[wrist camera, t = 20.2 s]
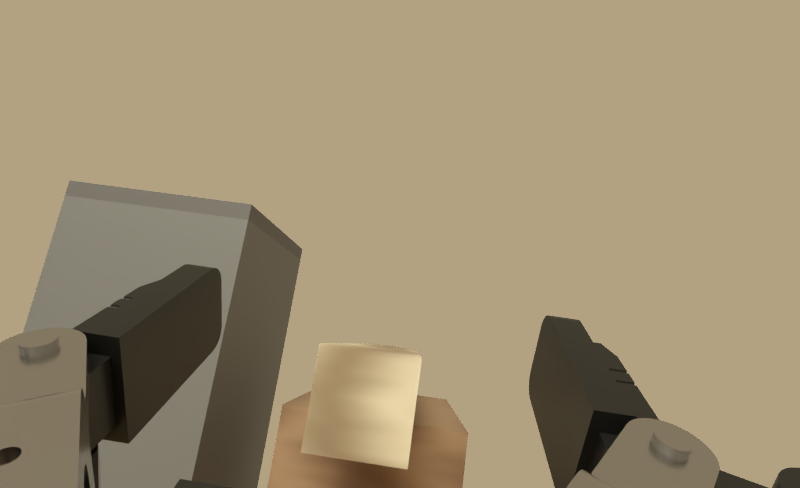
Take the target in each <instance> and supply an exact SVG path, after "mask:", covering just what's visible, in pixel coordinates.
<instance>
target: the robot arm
mask: <svg viewBox="0 0 800 488" xmlns="http://www.w3.org/2000/svg"><path fill="white" fill-rule="evenodd" d="M221 329H222V281H221V274H220V271H219V270H218V269H217V268H212V267H205V266H198V265H192V264H185V265H183V266H181V267H180V268H178V269H177V270H175V271H174V272H172V273H171V274H169V275H167V276H166V277H164V278H163V279H161V280H158V281H155V282H152V283H149V284H146V285H143V286H140V287H138V288H137V289H135V290H133V291H132V292H130V293H129V294H127V295H125V296H124V298H123V299H119V300H117V301H116V302H114V303H113V304H111V306H110V307H106V308H105V309H103V310H101V311H100V312H98V313H97V314H95V315H93V316H92V317H90V318H89V319H87V320H85V321H84V322H82V323H81V324H79V325H77V326H76V327H74V328H73V329H70V328H45V329H38V330H33V331H29V332H25V333H22V334H18V335H16V336H13V337H11V338H9V339H6V340H4V341H2V342H1V343H0V488H101V469H100V452H99V442H100V441H101V440H102V439H103V440H109V441H115V442H121V443H127V444H129V443H130V442H131V441H132V440H133V439H134V438H135V436H136V435H137V434H138V433H139V432H140V431H141V430H142V429H143V428H144V427H145V425H146V424H147V423H148V422H149V421H150V420H151V419H152V418H153V417H154V416H155V414H156V413H157V412H158V411H159V410H160V409H161V408H162V407H163V406H164V405H165V403H166V402H167V401H168V400H169V399H170V398H171V397H172V396H173V395H174V393H175V392H176V391H177V390H178V389H179V388H180V387H181V386H182V385H183V384H184V382H185V381H186V380H187V379H188V378H189V377H190V376H191V375H192V374H193V373H194V371H195V370H196V369H197V368H198V367H199V366H200V365H201V364H202V363H203V362H204V360H205V359H206V358H207V357H208V356H209V355H210V354H211V353H212V352H213V350H214V349H215V348H216V346H217V344H218V341H219V338H220V335H221ZM529 395H530V400H531V404H532V407H533V411H534V414H535V418H536V421H537V425H538V429H539V432H540V436H541V439H542V443H543V447H544V449H545V453H546V457H547V461H548V464H549V468H550V472H551V475H552V479H553V482H554V486H555V488H767V487H764V486H762V485H759V484H756V483H754V482H751V481H748V480H745V479H742V478H740V477H737V476H734V475H731V474H728V473H726V472H723V471H721V470H719V469H720V467H719V463H718V461H717V458H716V457H715V455H714V454H713V452H712V451H711V450H710V449H709V448H708V447H707V446H706V445H705V444H704V443H703V442H702V441H700V440H699V439H697V438H696V437H695V436H693V435H692V434H690V433H689V432H687V431H685V430H683V429H681V428H679V427H677V426H675V425H673V424H670V423H667V422H664V421H660V420H659V419H658V418H657V416H656V415H655V413H654V412H653V410H652V409H651V407H650V406H649V404H648V403H647V401H646V400H645V398H644V397H643V395H642V393H641V392H640V391H639V389H638V387H637V386H634V381H633V380H632V378H631V377H630V375H629V374H627V371H626V369H625V368H624V366H623V365H622V363H621V362H620V360H619V359H618V357H617V356H616V355H614V354H613V353H612V352H610V351H609V350H608V349H607V348H605V347H604V346H603V345H602V344H599V343H593V342H592V340H591V338H590V337H589V335H588V333H587V332H586V330H585V328H584V327H583V325H582V323H581V322H580V321H579V320H574V319H568V318H561V317H554V316H546V317H545V318H544V320H543V323H542V326H541V330H540V334H539V339H538V343H537V347H536V351H535V356H534V360H533V364H532V368H531V373H530V380H529ZM174 488H231V487H225V486H219V485H213V484H208V483H202V482H196V481H190V480H184V479H180V480H179V481H178V482H177V484H176V485H175V487H174ZM772 488H800V468H786V469H784V470H782V471H781V472H780V473H779V474H778V476H777V478H776V480H775V483H774V485H773V487H772Z"/></svg>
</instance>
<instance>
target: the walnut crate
mask: <svg viewBox="0 0 800 488" xmlns="http://www.w3.org/2000/svg"><path fill="white" fill-rule="evenodd" d="M310 396H311V391H310V392H308V393H306V394H303V395H302V396H299V397H297V398H295V399H293V400H291V401H289V402H287V403H285V404H283V406H282V411H281V416H280V422H279V428H278V433H277V438H276V444H275V450H274V454H273V460H272V465H271V471H270V476H269V482H268V487H267V488H462V485H463V475H464V466H465V456H466V447H467V437H468V432H467V431H466V429H465V428H464V426H463V424H462V423H461V421H460V420H459V418H458V417H457V415H456V414H455V412H454V411H453V409H452V408H451V406H450V405H449V403H448V402H447V400H445V399H438V398H431V397H424V396H418V395H417V400H416V408H415V416H414V424H413V431H412V439H411V447H410V455H409V463H408V470H407V469H401V468H394V467H388V466H382V465H376V464H369V463H363V462H357V461H350V460H344V459H338V458H331V457H325V456H319V455H312V454H306V453H301V448H302V442H303V436H304V430H305V425H306V419H307V413H308V407H309V402H310Z"/></svg>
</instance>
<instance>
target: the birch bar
mask: <svg viewBox="0 0 800 488" xmlns="http://www.w3.org/2000/svg"><path fill="white" fill-rule="evenodd" d="M421 361H422V358H421V357H420V355H419V354H418V353H417V352H416V351H415V350H413V349H407V348H399V347H393V346H385V345H379V344H351V343H349V344H348V343H347V344H345V343H338V344H337V343H321V344H319V350H318V356H317V362H316V367H315V373H314V379H313V384H312V390H311V396H310V402H309V407H308V413H307V419H306V425H305V430H304V436H303V442H302V448H301V453H306V454H312V455H319V456H325V457H331V458H338V459H344V460H350V461H357V462H363V463H369V464H376V465H382V466H388V467H394V468H401V469H407V470H408V463H409V455H410V447H411V439H412V431H413V424H414V416H415V408H416V400H417V392H418V384H419V377H420V369H421Z"/></svg>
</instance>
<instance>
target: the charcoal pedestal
mask: <svg viewBox="0 0 800 488" xmlns="http://www.w3.org/2000/svg"><path fill="white" fill-rule="evenodd" d="M301 253H302V249H301V248H300V247H299V246H298V245H297V244H296V243H295V242H293V241H292V240H291V239H290V238H289V237H288V236H286V235H285V234H284V233H283V232H282V231H281V230H280V229H278V228H277V227H276V226H275V225H274V224H273V223H272V222H271V221H270V220H268V219H267V218H266V217H265V216H264V215H263V214H262V213H260V212H259V211H258V210H257V209H256V208H255V207H253V206H252V205H250V204H242V203H234V202H227V201H220V200H212V199H205V198H197V197H190V196H182V195H174V194H167V193H159V192H152V191H143V190H136V189H129V188H121V187H114V186H105V185H98V184H91V183H83V182H76V181H69V185H68V187H67V191H66V195H65V198H64V201H63V204H62V207H61V211H60V214H59V217H58V221H57V224H56V227H55V230H54V234H53V236H52V240H51V243H50V246H49V250H48V253H47V256H46V259H45V263H44V266H43V269H42V272H41V276H40V279H39V282H38V286H37V289H36V292H35V295H34V299H33V302H32V305H31V308H30V312H29V315H28V318H27V321H26V325H25V328H24V331H23V333H25V332H29V331H33V330H38V329H45V328H70V329H73V328H74V327H76V326H77V325H79V324H81V323H82V322H84V321H85V320H87V319H89V318H90V317H92V316H93V315H95V314H97V313H98V312H100V311H101V310H103V309H105V308H106V307H110V306H111V304H113V303H114V302H116V301H117V300H119V299H123V298H124V296H125V295H127V294H129V293H130V292H132V291H133V290H135V289H137V288H138V287H140V286H143V285H146V284H149V283H152V282H155V281H158V280H161V279H163V278H164V277H166V276H167V275H169V274H171V273H172V272H174V271H175V270H177V269H178V268H180V267H181V266H183V265H185V264H192V265H198V266H205V267H212V268H217V269H218V270H219V271H220V274H221V281H222V329H221V335H220V338H219V341H218V344H217V346H216V348H215V349H214V350H213V352H212V353H211V354H210V355H209V356H208V357H207V358H206V359H205V360H204V362H203V363H202V364H201V365H200V366H199V367H198V368H197V369H196V370H195V371H194V373H193V374H192V375H191V376H190V377H189V378H188V379H187V380H186V381H185V382H184V384H183V385H182V386H181V387H180V388H179V389H178V390H177V391H176V392H175V393H174V395H173V396H172V397H171V398H170V399H169V400H168V401H167V402H166V403H165V405H164V406H163V407H162V408H161V409H160V410H159V411H158V412H157V413H156V414H155V416H154V417H153V418H152V419H151V420H150V421H149V422H148V423H147V424H146V425H145V427H144V428H143V429H142V430H141V431H140V432H139V433H138V434H137V435H136V436H135V438H134V439H133V440H132V441H131V442H130V443H129V444H127V443H121V442H115V441H109V440H103V439H102V440H101V441H100V442H99V452H100V469H101V488H174V487H175V485H176V484H177V482H178V481H179V480H180V479H184V480H190V481H196V482H202V483H208V484H213V485H219V486H225V487H231V488H257V485H258V480H259V474H260V469H261V464H262V459H263V453H264V448H265V443H266V438H267V432H268V427H269V421H270V416H271V411H272V405H273V401H274V395H275V390H276V384H277V379H278V374H279V369H280V364H281V358H282V353H283V348H284V342H285V337H286V332H287V327H288V321H289V316H290V311H291V305H292V300H293V294H294V290H295V284H296V279H297V274H298V268H299V263H300V258H301Z"/></svg>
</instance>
